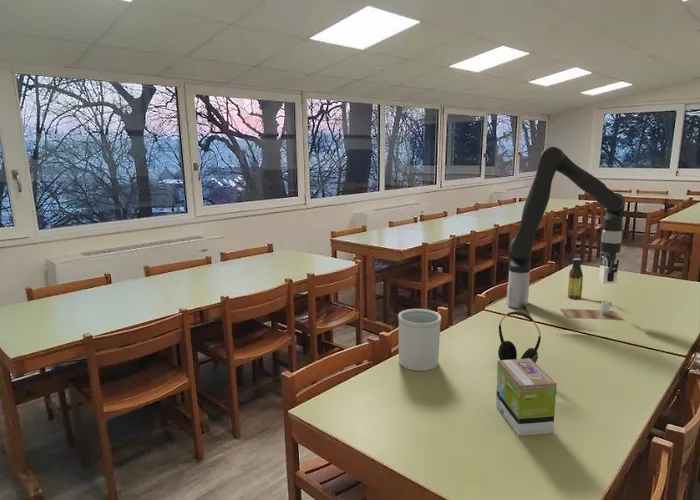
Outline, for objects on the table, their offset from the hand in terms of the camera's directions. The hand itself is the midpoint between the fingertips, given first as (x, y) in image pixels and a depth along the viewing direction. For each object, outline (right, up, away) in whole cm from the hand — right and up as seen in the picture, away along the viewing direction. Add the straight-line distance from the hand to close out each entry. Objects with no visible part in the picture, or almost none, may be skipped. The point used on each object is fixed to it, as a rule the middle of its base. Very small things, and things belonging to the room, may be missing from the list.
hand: (607, 279), depth 198 cm
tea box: (-64, -34, -72) cm, 102 cm away
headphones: (-54, -28, -42) cm, 74 cm away
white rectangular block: (0, -1, 0) cm, 1 cm away
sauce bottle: (+1, -11, +32) cm, 34 cm away
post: (0, -16, +3) cm, 16 cm away
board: (-5, -17, +4) cm, 18 cm away
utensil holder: (-87, -27, -36) cm, 98 cm away
